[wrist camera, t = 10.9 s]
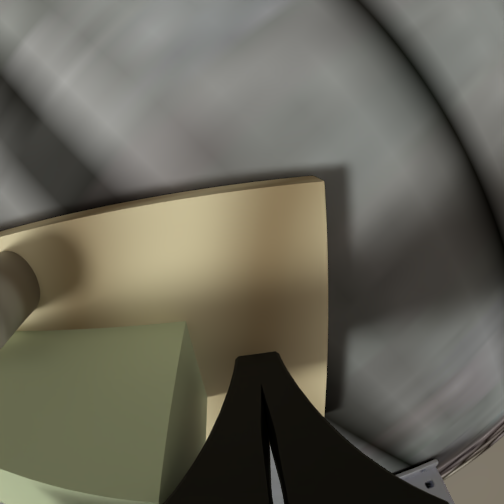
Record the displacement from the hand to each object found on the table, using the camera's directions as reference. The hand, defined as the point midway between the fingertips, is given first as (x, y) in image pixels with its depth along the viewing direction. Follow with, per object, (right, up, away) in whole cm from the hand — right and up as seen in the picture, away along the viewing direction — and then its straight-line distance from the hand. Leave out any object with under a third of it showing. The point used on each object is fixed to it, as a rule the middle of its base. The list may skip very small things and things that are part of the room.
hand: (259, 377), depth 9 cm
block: (-6, 0, +1) cm, 6 cm away
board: (-6, 0, +2) cm, 6 cm away
